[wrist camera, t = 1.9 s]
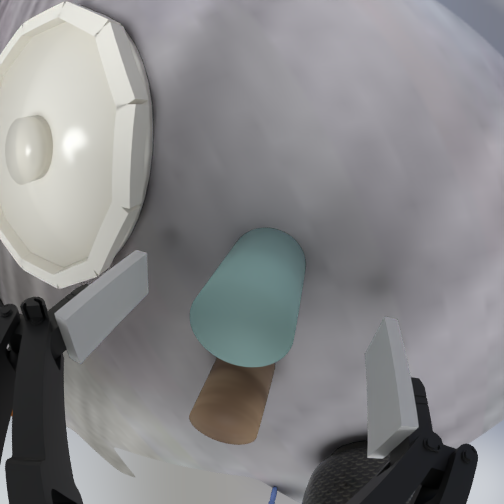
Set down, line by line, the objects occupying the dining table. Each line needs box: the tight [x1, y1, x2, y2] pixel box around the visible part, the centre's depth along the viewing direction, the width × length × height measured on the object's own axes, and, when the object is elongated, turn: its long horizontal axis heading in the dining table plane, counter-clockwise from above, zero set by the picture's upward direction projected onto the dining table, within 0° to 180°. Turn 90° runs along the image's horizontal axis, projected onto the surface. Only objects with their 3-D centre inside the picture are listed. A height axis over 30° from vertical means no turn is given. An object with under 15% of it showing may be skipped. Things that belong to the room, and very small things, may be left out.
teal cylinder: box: [190, 228, 306, 367], centre depth 16 cm, size 5×5×7 cm
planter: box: [302, 441, 415, 504], centre depth 21 cm, size 14×14×13 cm
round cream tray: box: [0, 1, 153, 289], centre depth 18 cm, size 26×26×3 cm
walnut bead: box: [189, 357, 275, 445], centre depth 20 cm, size 5×5×7 cm
